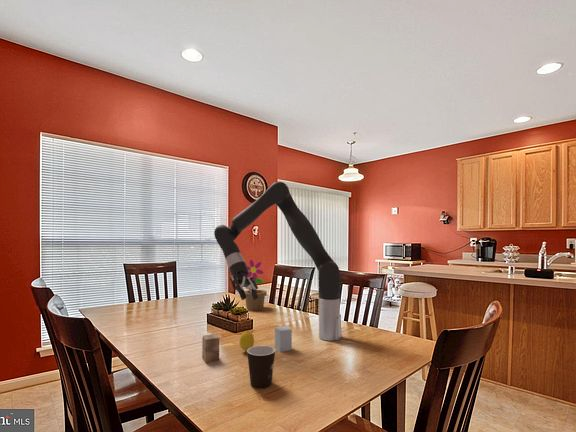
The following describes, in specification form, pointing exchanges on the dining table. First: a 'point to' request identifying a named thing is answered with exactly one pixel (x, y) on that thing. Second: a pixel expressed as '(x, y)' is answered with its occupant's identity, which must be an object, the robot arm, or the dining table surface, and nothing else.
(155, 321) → the dining table surface
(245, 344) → the lemon
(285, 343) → the slate block
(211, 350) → the walnut block
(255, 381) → the coffee mug
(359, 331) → the dining table surface
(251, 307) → the flowerpot
